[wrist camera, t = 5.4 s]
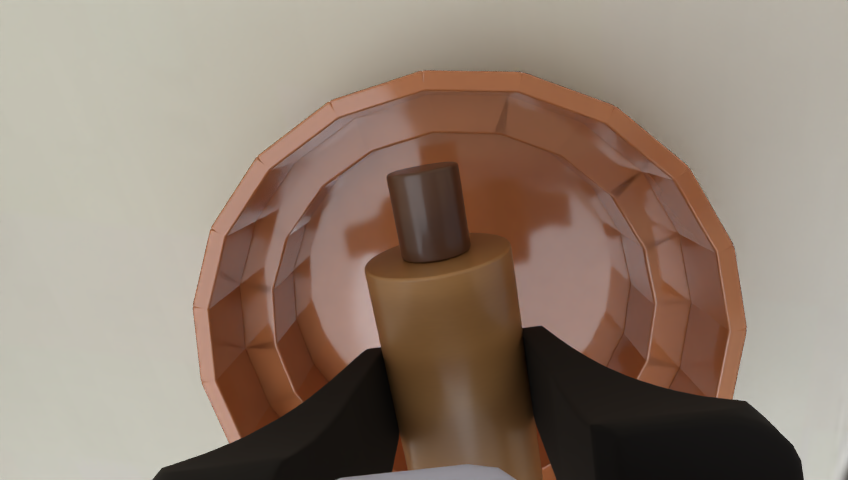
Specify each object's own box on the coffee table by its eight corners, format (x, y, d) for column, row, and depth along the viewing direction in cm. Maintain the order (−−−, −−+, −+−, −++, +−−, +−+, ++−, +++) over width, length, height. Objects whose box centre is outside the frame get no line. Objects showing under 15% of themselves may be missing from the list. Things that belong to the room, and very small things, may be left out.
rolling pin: (537, 485, 16) (566, 594, 12) (428, 498, 16) (423, 609, 13) (490, 149, 13) (508, 161, 10) (360, 172, 14) (329, 192, 10)
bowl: (739, 348, 19) (840, 429, 14) (410, 522, 22) (398, 638, 17) (522, -15, 16) (553, -72, 11) (179, 243, 19) (86, 286, 14)
